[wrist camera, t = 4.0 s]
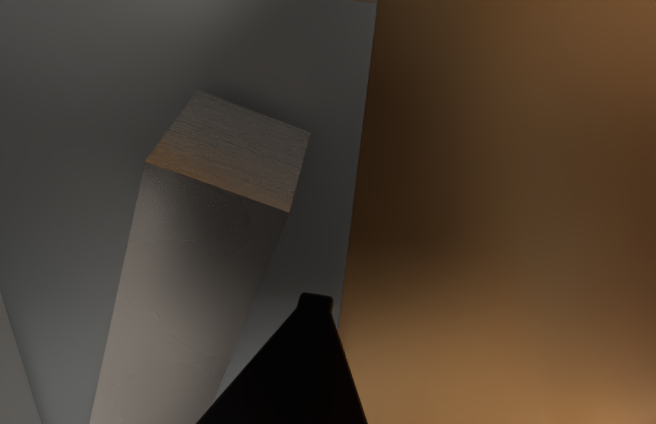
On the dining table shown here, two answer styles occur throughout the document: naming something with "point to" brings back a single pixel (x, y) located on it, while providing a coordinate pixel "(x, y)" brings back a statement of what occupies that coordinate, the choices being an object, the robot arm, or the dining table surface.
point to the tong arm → (195, 259)
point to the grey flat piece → (135, 147)
